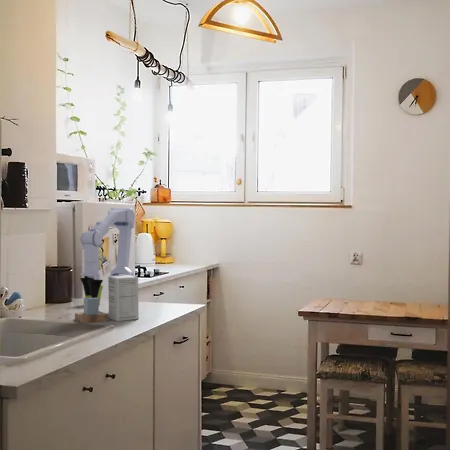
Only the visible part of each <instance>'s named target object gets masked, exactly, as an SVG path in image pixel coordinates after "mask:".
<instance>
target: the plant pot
mask: <svg viewBox="0 0 450 450" xmlns="http://www.w3.org/2000/svg"><path fill="white" fill-rule="evenodd" d="M103 287H104V285H102V284H101V286H100V288H99V292H98V297H97V298H98V299H99V305H101V297H102V291H103ZM82 288H83V289H84V287H83V286H82ZM83 291H84V290H83ZM84 293H85V291H84ZM84 298H92V297H91V295H90V296H86V295H85V294H84Z"/></svg>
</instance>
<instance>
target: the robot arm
mask: <svg viewBox="0 0 450 450" xmlns="http://www.w3.org/2000/svg"><path fill="white" fill-rule="evenodd" d="M135 221H136V214H135V210H134V209H133V208H132V207H117V208H116V207H111V208H110V209H109V210H108V211H107V216H106V217H105V218H104V219H103V220H102V221H96V222H95V224H94V225H93V226H92V227H91V228H90V229H88V230H85V231H83V232H82V233H81V236H80V238H79V239H80V244H81V246H82V251H83V273H80V276H83V277H80V282H81V283H82V288H83V287H84V288H83V291H85V292H84V296H85V295H86V296H90V295H91V297H92V298H97V297H98V292H99V288H100V286H101V285H102V284H103V281H104V280H103V279H101V277H100V276H101V275H100V272H99V271H100V267H99V265H100V263H99V261H100V259H99V250H100V249H99V246H100V245H101V244H102V240H103V239H104V237H105V236H106V235H107V234H108V233H109V231H110V230H109V229H110V227H111V226H113V227H114V228H116V229H117V230H118V231H119V233H118V245H117V252H116V253H117V254H116V265H115V268H113V269H112V270H111V271H110V275H109V276H123V275H131V276H135V272H134V271H132V269H130V268H129V264H130V251H131V242H132V230H133V229H134V227H135Z"/></svg>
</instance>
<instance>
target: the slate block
mask: <svg viewBox="0 0 450 450" xmlns="http://www.w3.org/2000/svg"><path fill="white" fill-rule="evenodd" d="M99 308H100V304H99V299H98V298H85V297H84V298H83V312H84V314H86V315H94V314H99V311H100V309H99Z"/></svg>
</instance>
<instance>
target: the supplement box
mask: <svg viewBox="0 0 450 450" xmlns="http://www.w3.org/2000/svg"><path fill="white" fill-rule="evenodd" d="M122 275H123V276H110V275H109V276H108V278H107V281H108V283H107V284H108V285H107V287H108V319H111V320H113V321H115V322H122V321H133V320H139V315H140V314H139V313H140V312H139V277H138V276H136V275H134V276H131V275H126V274H122Z"/></svg>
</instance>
